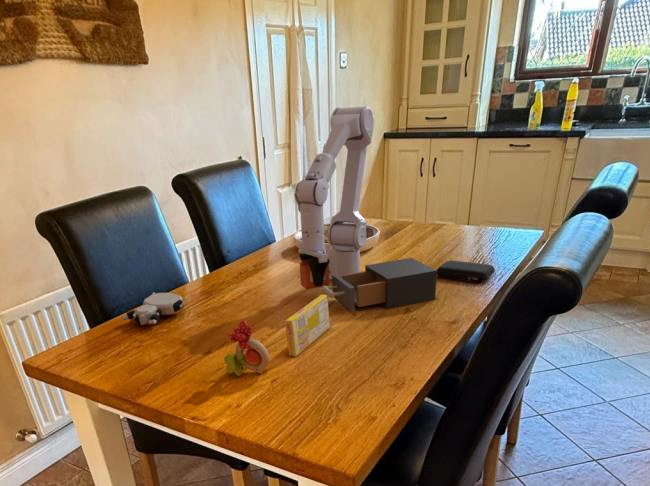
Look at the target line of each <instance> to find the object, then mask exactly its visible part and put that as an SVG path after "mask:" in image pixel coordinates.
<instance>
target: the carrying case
mask: <svg viewBox="0 0 650 486" xmlns="http://www.w3.org/2000/svg"><path fill="white" fill-rule="evenodd" d="M436 270H437V277H438V278H443V279H451V280H457V281H459V280H460V281H468V282H474V283H475V282H476V283H484V282H486V281H487V280H488V279H489V278H490V277H491V276H492V275H494V274H495V272H496V268H495V267H494V266H493V265H492V264H486V263H479V262H478V263H477V262H468V261H461V260H460V261H459V260H447V261H446V262H444V263H443V264H441V265H439V267H437V268H436Z"/></svg>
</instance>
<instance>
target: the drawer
mask: <svg viewBox="0 0 650 486" xmlns="http://www.w3.org/2000/svg"><path fill="white" fill-rule="evenodd" d="M321 291H322V292H323V293H324V294H325V295H327V297H329V298H330V299H335V300H337V301H338V302H339V303H340V304H341V305H343V306H344V307H345V308H346V309H347V310H348V311H350V312H352V311H355V310H356V309H355V306H356V307H358V308H360V307H366V306H372V305H373V306H374V305H378V304H380V303H383V302H386V281H385V280H384V279H382V278H380V277H379V276H377V275H375V274H374V273H372V272H371V271H365V270H363V271H360V272H357V273H351V274H345V275H342V278H340V277H339V276H338V275H332V280H331V285H329V286H323V287H321Z"/></svg>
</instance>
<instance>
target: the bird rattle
mask: <svg viewBox="0 0 650 486" xmlns="http://www.w3.org/2000/svg"><path fill="white" fill-rule="evenodd" d="M253 331H254V328H253V327H252V326H251V325H248V324H247V322H246V320H245V319H244V320H241V321H240V323H239V324H238V326H237V327H234V329H233V333H231V332H230V333H229V332H228V333H226V335H227V336H228V337H230V338H229V339H230V342H231V343H233V344H234V343H236V342H237V344H236V346H235V352H234V353H228V354H226V355H224V358H223V359H224V363H225V364H226V373H227V374H228V375H231V374H233V373H234V374H235V375H236V377H240V376H242V374H243V373H242V372H243V371H242V369H244V368H246V369H247V370H250V371H253V372H256V373H258V374H263V373H264V372H265V371H264V370H265V369H266V368H267V366H268V365H269V362H270V354H269V351H268V349H267V348H266V347H265V346H264V344H263V343H261V341H258V340H257V339H254V338H252V337H251V336H252V334H253ZM246 349H247V350H246Z"/></svg>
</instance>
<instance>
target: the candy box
mask: <svg viewBox="0 0 650 486" xmlns="http://www.w3.org/2000/svg"><path fill="white" fill-rule="evenodd" d="M329 314H330V312H329V300H328V295H327V294H319V295H318V296H316V298H314V299H313V300H312V301H310V302H309V303H308V304H306V305H305V306H303V307H302V308H300V309H299V310H298V311H296V312H295V313H294V314H292V315H291V316H290V317H288V318H287V319H285V320H284V323H285V331H286V332H285V333H286V342H287V351H288V356H291V357H297V356H298V355H300V354H301V353H302V352H303V351H304V350H306V348H309V346H310V345H312V344H313V343H314V342H315V341H316V340H318V338H320V337H321V336H322V335H323V334H325V333H326V332H327V331H328V330H330V328H331V327H330V315H329Z"/></svg>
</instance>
